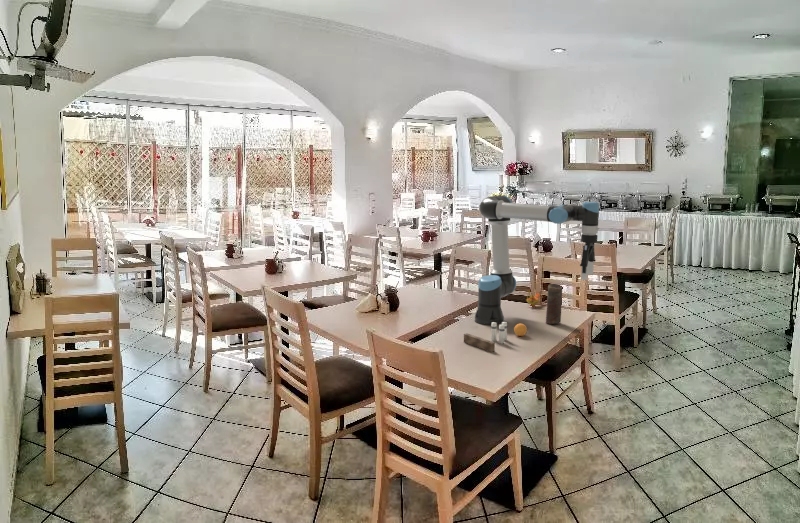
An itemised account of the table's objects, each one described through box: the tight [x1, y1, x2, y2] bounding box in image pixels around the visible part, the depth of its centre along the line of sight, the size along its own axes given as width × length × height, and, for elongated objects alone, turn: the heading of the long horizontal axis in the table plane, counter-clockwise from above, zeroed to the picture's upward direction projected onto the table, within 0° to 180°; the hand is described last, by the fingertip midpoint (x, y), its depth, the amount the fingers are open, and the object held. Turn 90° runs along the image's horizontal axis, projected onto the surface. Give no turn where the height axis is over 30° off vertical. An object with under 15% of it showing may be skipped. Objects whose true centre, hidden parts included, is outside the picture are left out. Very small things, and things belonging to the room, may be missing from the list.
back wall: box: [463, 333, 496, 353], centre depth 269 cm, size 18×2×4 cm, turn 36°
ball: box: [513, 323, 528, 337], centre depth 284 cm, size 6×6×6 cm
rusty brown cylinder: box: [545, 283, 563, 325], centre depth 303 cm, size 8×7×20 cm
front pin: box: [501, 321, 508, 342], centre depth 278 cm, size 2×2×8 cm
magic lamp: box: [526, 289, 542, 308], centre depth 340 cm, size 7×18×11 cm, turn 143°
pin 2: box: [498, 324, 505, 345], centre depth 273 cm, size 2×2×8 cm
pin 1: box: [490, 322, 498, 342], centre depth 277 cm, size 2×2×8 cm
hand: (587, 277), depth 290 cm, fingers open, 13 cm apart
